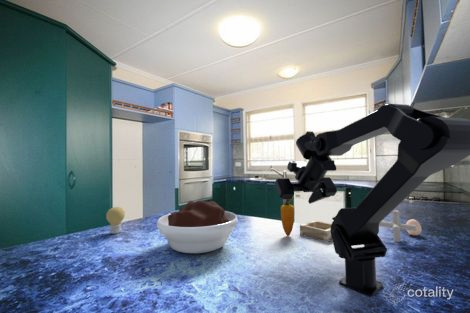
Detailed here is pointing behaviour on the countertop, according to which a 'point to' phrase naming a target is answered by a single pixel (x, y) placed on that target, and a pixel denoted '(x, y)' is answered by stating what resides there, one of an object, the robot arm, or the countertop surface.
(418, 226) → the egg
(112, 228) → the light bulb
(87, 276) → the countertop surface
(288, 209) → the carrot
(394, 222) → the pipe connector
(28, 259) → the countertop surface
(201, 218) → the bowl of chocolate chunks
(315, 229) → the socket block
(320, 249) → the countertop surface
